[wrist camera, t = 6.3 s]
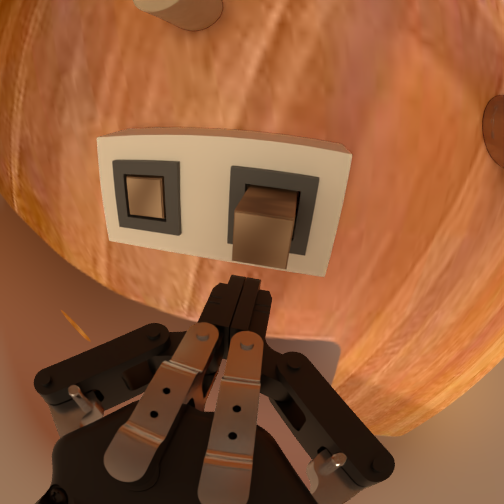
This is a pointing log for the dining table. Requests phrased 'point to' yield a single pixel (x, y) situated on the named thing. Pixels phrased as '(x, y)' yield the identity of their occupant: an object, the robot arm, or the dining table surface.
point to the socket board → (223, 188)
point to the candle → (184, 12)
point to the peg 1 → (146, 195)
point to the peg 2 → (264, 226)
